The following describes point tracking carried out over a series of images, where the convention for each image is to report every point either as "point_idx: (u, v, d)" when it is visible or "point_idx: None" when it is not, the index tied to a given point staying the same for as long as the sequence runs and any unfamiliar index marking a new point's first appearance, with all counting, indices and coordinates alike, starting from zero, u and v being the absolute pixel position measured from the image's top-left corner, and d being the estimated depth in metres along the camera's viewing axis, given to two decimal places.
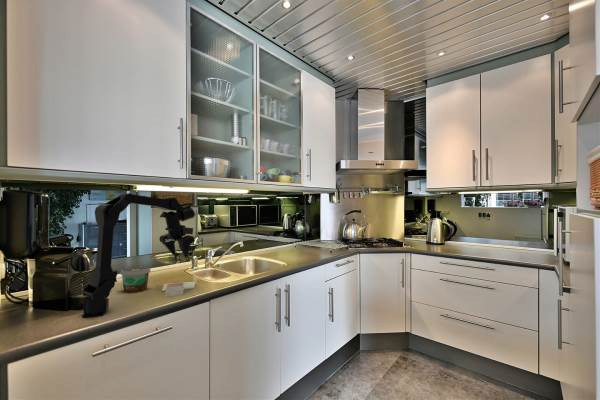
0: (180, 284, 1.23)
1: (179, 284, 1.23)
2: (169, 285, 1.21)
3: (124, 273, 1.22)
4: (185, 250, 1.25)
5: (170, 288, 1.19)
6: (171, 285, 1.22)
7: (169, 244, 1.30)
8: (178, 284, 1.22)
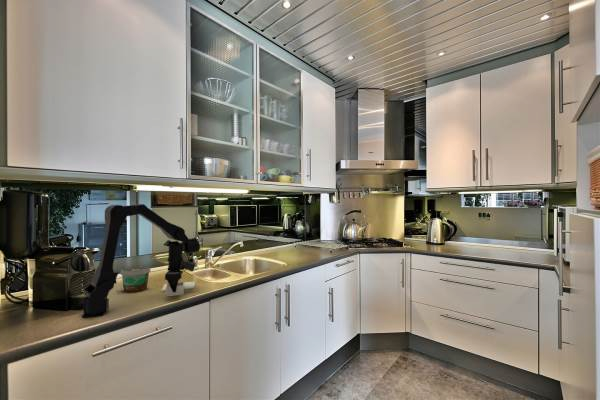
0: (180, 283, 1.23)
1: (179, 283, 1.23)
2: (169, 285, 1.21)
3: (124, 273, 1.22)
4: (172, 284, 1.18)
5: (170, 287, 1.19)
6: None
7: None
8: (178, 284, 1.22)
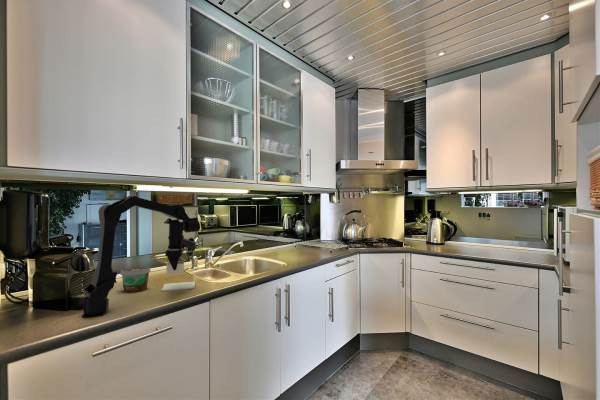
0: (181, 262, 1.23)
1: (180, 262, 1.23)
2: None
3: (124, 273, 1.22)
4: (173, 262, 1.18)
5: None
6: None
7: None
8: (179, 262, 1.22)
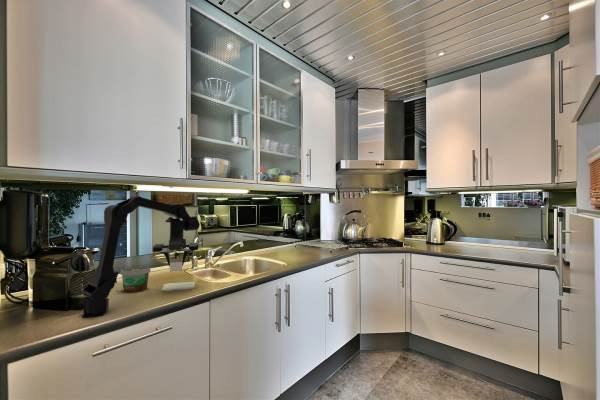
0: (175, 261, 1.24)
1: (176, 261, 1.24)
2: (175, 259, 1.28)
3: (124, 273, 1.22)
4: None
5: (170, 261, 1.27)
6: (177, 259, 1.27)
7: None
8: (174, 260, 1.24)
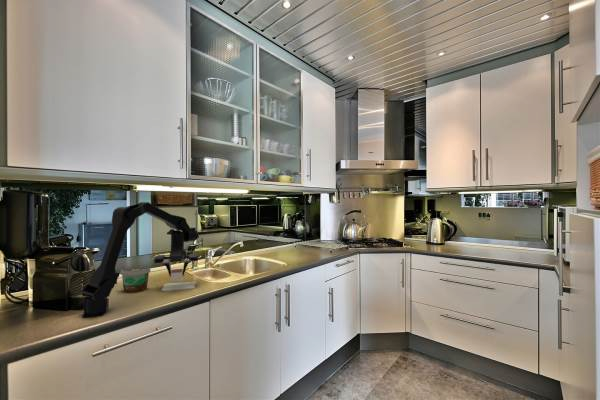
0: (176, 271, 1.28)
1: (176, 271, 1.29)
2: (176, 269, 1.33)
3: (124, 273, 1.22)
4: None
5: (171, 271, 1.31)
6: (177, 269, 1.32)
7: None
8: (175, 271, 1.29)
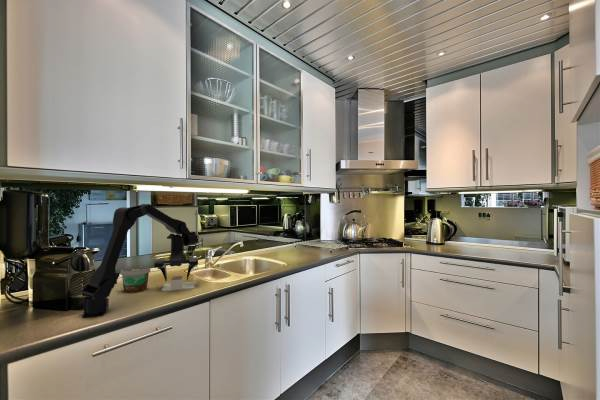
0: (176, 279, 1.28)
1: (176, 278, 1.29)
2: (176, 276, 1.33)
3: (124, 273, 1.22)
4: None
5: (171, 278, 1.31)
6: (177, 276, 1.32)
7: None
8: (175, 278, 1.29)
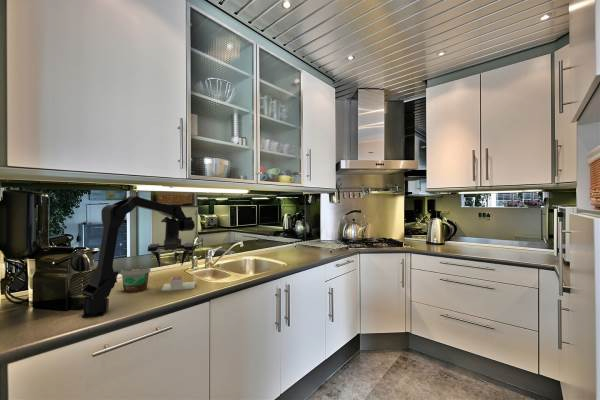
0: (176, 279, 1.28)
1: (176, 278, 1.29)
2: (176, 276, 1.33)
3: (124, 273, 1.22)
4: None
5: (171, 278, 1.31)
6: (177, 276, 1.32)
7: None
8: (175, 278, 1.29)
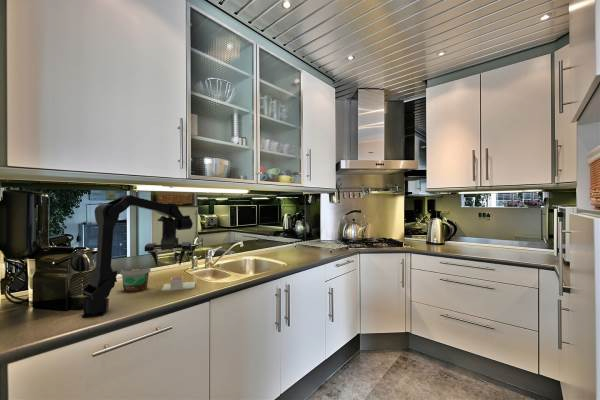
0: (176, 279, 1.28)
1: (176, 278, 1.29)
2: (176, 276, 1.33)
3: (124, 273, 1.22)
4: None
5: (171, 278, 1.31)
6: (177, 276, 1.32)
7: None
8: (175, 278, 1.29)
